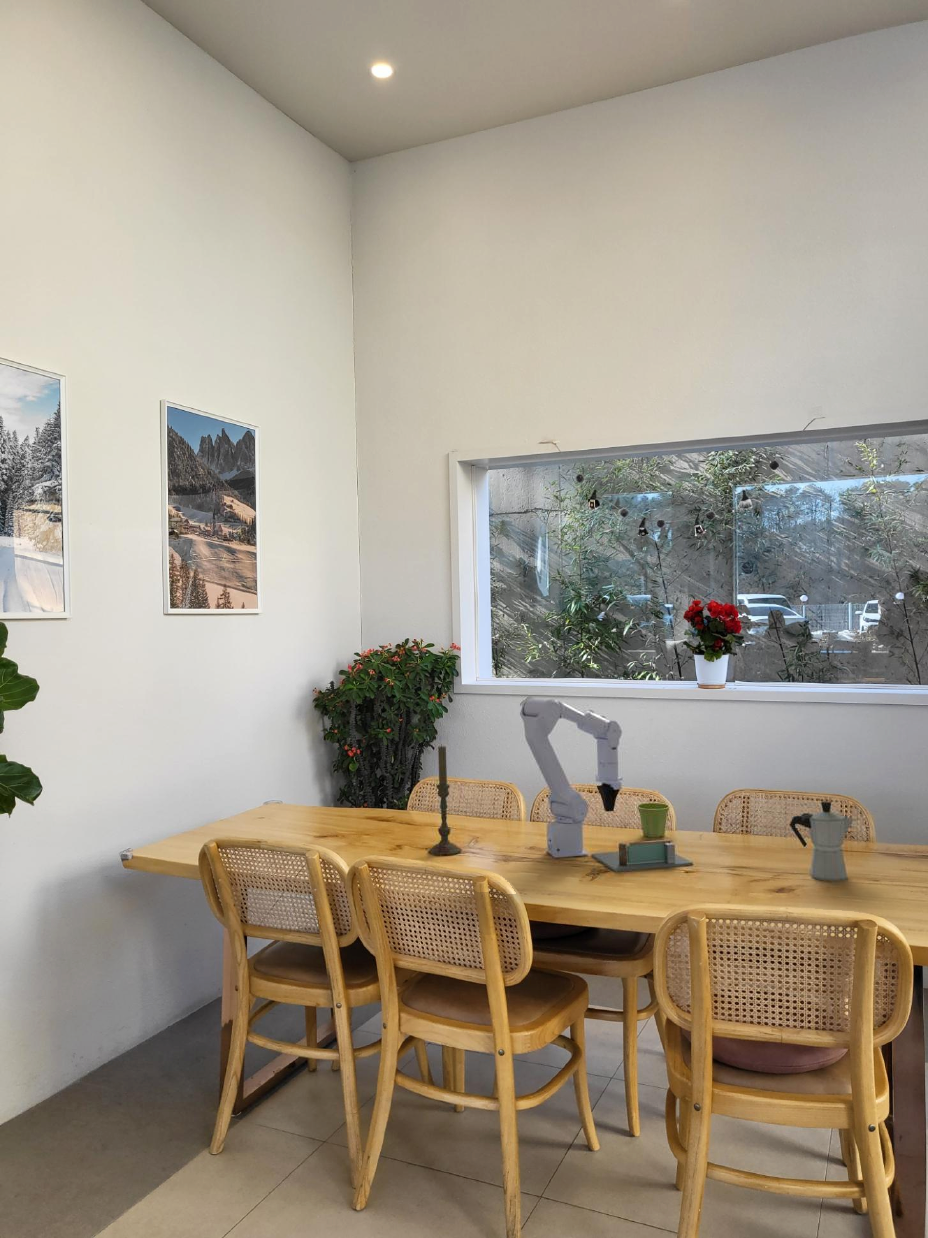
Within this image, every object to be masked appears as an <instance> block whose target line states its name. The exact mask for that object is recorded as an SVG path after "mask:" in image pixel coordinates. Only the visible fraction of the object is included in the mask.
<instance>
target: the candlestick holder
mask: <svg viewBox="0 0 928 1238" xmlns="http://www.w3.org/2000/svg"><path fill="white" fill-rule="evenodd" d="M437 751H438V752H437V753H438V784H436V789H437V790H438V791H437V796H438V797H439V798H440V801H439V802H440V803H439V808H440V812H441V813H440V816H441V817H440V818H441V825H440V827H439V828H438V829H437V831H438V834H439V836H440V839H441V840H440V841H439V842H438V843H435V845H433V846H432V847H430V848H429V849H428V853H429V854H430V855H432V856H437V857H448V856H455V855H459V854H461V852H462V848H461V847H459V846H457V844H455V843H452V842H451V840H449V836H450V834H451V827H449V825H448V822H447V820H448V819H447V817H448V814H447V809H448V803H447V802H448V801H447V797H448V796H449V795H450V791H449V788H450V787H451V786H450V784H448V780H447V779H448V776H447V775H448V773H447V746H446V745H443V744H442V743H441V744H440V746H438V747H437Z"/></svg>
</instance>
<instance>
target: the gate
mask: <svg viewBox="0 0 928 1238" xmlns="http://www.w3.org/2000/svg"><path fill="white" fill-rule="evenodd" d="M664 843H673V841H672V840H671V839H659V840H649V841H634V842H628V844H627V863H629V864H630V863H642V862H654V861H665V856H664ZM673 844H674V843H673Z"/></svg>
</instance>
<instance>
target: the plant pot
mask: <svg viewBox="0 0 928 1238" xmlns="http://www.w3.org/2000/svg"><path fill="white" fill-rule="evenodd" d="M636 808H637V810H638V814H639V817H640V822H641V829H642V835H643V837H648V838H650V839H651V838H655V839H657V838H660V837H664V836H665V834H666V827H667V826H666V825H667V816H668V813H669V809H670V805H669V804H667V803H663V802H662V803H661V802H645V803H639V804H637V805H636Z"/></svg>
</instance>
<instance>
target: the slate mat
mask: <svg viewBox="0 0 928 1238" xmlns="http://www.w3.org/2000/svg"><path fill="white" fill-rule="evenodd" d="M591 857H592V858H594V859H595V860H597V861H599V863H601V864H602V865H604V866H605V867H606V868H609V869H610V870H612V871H613V872H615V873H619V872H628V871H629V872H631V871H632V872H633V871H640V870H642V871H643V870H652V869H653V870H655V869H661V868H664V869H665V868H673V867H675V868H676V867H685V866H686V867H688V866H693V864H694V863H693V862H692V861H690V860H688V859H686V858H685V857H683V856H681V855H679V854H678V853H675V864H667V863H665V861H654V862H642V863H630V864H629V863H627V866H620V865H619V850H618V851H610V852H609V851H608V852H607V851H606V852H597V853H591Z"/></svg>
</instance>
